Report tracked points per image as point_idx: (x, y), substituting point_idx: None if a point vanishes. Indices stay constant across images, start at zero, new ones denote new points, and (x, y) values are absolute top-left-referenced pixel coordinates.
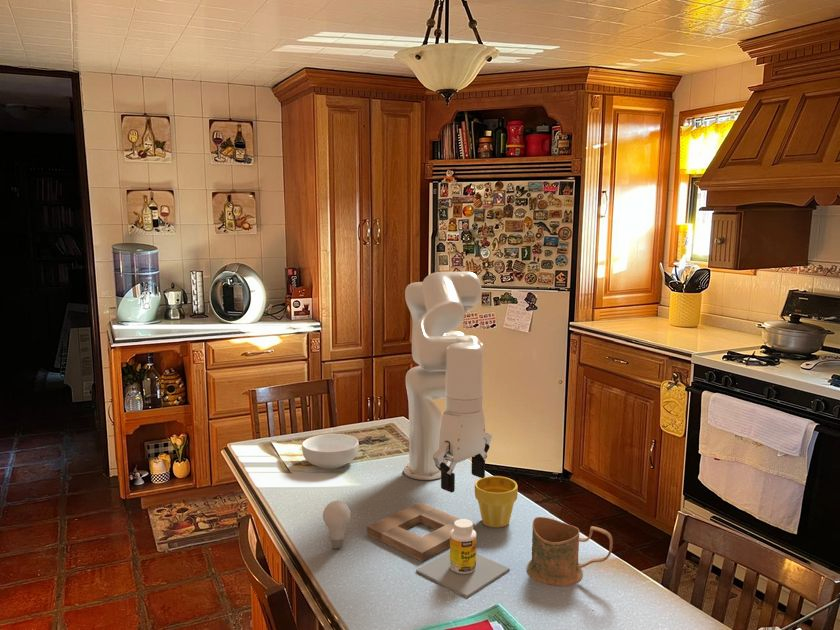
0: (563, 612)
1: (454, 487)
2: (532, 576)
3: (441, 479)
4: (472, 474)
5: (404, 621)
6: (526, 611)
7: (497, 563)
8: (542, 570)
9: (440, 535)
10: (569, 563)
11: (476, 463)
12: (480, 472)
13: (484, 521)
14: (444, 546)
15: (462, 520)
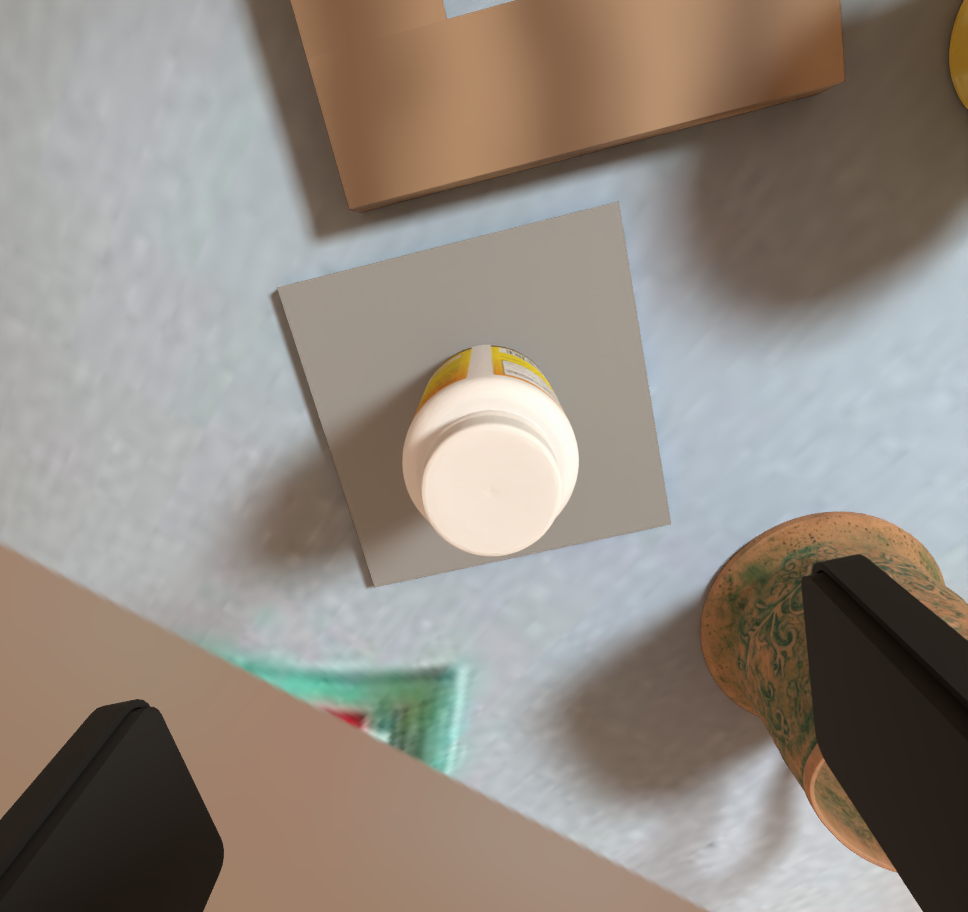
0: (619, 809)
1: (202, 906)
2: (704, 616)
3: (15, 818)
4: (803, 589)
5: (76, 576)
6: (516, 748)
7: (657, 462)
8: (738, 670)
9: (564, 74)
10: None
11: (952, 842)
12: (856, 788)
13: (962, 25)
14: (538, 163)
15: (511, 456)
